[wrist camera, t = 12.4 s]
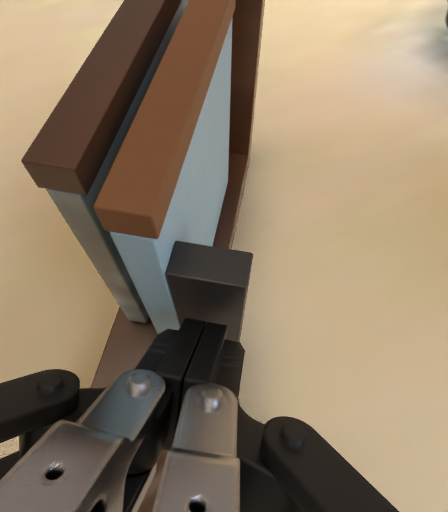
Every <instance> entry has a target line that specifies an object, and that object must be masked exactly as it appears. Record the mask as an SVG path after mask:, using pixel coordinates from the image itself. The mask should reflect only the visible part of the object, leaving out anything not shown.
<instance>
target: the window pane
mask: <svg viewBox="0 0 448 512" xmlns="http://www.w3.org/2000/svg"><path fill="white" fill-rule="evenodd" d="M235 3H236V0H189V2H188V4H187V6H186V8H185V10H184V12H183V15H182V17H181V19H180V21H179V23H178V25H177V27H176V30H175V32H174V34H173V36H172V38H171V40H170V42H169V45H168V47H167V49H166V51H165V53H164V55H163V57H162V60H161V62H160V64H159V66H158V68H157V70H156V72H155V75H154V77H153V79H152V81H151V83H150V85H149V87H148V90H147V92H146V94H145V96H144V98H143V100H142V102H141V105H140V107H139V109H138V111H137V113H136V115H135V117H134V120H133V122H132V124H131V126H130V128H129V130H128V132H127V135H126V137H125V139H124V141H123V143H122V145H121V147H120V150H119V152H118V154H117V156H116V158H115V160H114V162H113V165H112V167H111V169H110V171H109V173H108V175H107V177H106V180H105V182H104V184H103V186H102V188H101V190H100V192H99V195H98V197H97V199H96V201H95V203H94V210H95V212H96V214H97V216H98V218H99V220H100V222H101V224H102V226H103V228H104V230H106V231H110V235H111V237H112V239H113V241H114V243H115V245H116V247H117V249H118V252H119V254H120V256H121V258H122V260H123V262H124V264H125V266H126V268H127V270H128V273H129V275H130V277H131V279H132V281H133V283H134V285H135V287H136V289H137V291H138V294H139V296H140V298H141V300H142V302H143V304H144V306H145V308H146V310H147V312H148V315H149V317H150V319H151V321H152V323H153V325H154V327H155V329H156V331H157V333H158V334H159V333H161V332H163V331H165V330H166V329H173V330H179V328H180V327H181V325H182V323H183V321H184V320H185V318H190V319H195V320H200V321H206V324H207V322H211V323H217V324H222V325H227V334H226V340H232V341H237V342H239V341H240V335H241V329H242V323H243V316H244V310H245V304H246V297H247V291H248V284H249V278H250V271H251V265H252V259H253V254H252V253H249V252H243V251H237V250H231V249H225V248H219V247H213V242H214V238H215V233H216V229H217V225H218V221H219V217H220V213H221V209H222V204H223V200H224V196H225V192H226V188H227V184H228V164H229V127H230V90H231V53H232V17H233V14H234V11H235Z"/></svg>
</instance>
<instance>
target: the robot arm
mask: <svg viewBox="0 0 448 512" xmlns="http://www.w3.org/2000/svg"><path fill="white" fill-rule="evenodd" d="M226 334H227V325H222V324H217V323H211V322H207V324H206V321H200V320H195V319H190V318H185V320H184V321H183V323H182V325H181V327H180V328H179V330H173V329H166V330H165V331H163V332H161V333H159V334H158V335H157V336H156V338H155V339H154V341H153V342H152V344H151V345H150V347H149V348H148V350H147V351H146V353H145V354H144V356H143V357H142V359H141V360H140V362H139V363H138V365H137V366H136V368H135V369H134V370H129V371H126V372H123V373H121V374H119V375H118V376H117V377H116V378H115V379H114V380H113V381H112V382H111V383H110V384H109V385H108V387H106V388H83V389H79V388H80V381H79V378H78V377H77V376H76V375H75V374H74V373H72V372H70V371H66V370H60V369H52V370H45V371H41V372H37V373H34V374H30V375H27V376H24V377H20V378H17V379H14V380H10V381H7V382H4V383H0V443H2V442H4V441H7V440H9V439H12V438H14V437H17V436H19V451H18V452H15V453H13V454H11V455H8V456H6V457H4V458H1V459H0V512H137V511H138V509H139V507H140V505H141V503H142V501H143V499H144V497H145V494H146V492H147V490H148V488H149V486H150V484H151V482H152V480H153V478H154V475H155V473H156V466H157V462H158V460H159V458H160V455H161V452H162V450H163V449H165V450H168V452H167V456H166V460H165V463H164V467H163V471H162V475H161V479H160V483H159V487H158V490H157V494H156V498H155V502H154V506H153V510H152V512H399V511H398V510H397V509H396V508H395V507H394V506H393V505H392V504H391V503H390V502H389V501H388V500H387V499H386V498H384V497H383V496H382V495H381V494H380V493H379V492H378V491H377V490H376V489H375V488H374V487H373V486H372V485H371V484H370V483H369V482H368V481H367V480H366V479H365V478H364V477H363V476H362V475H361V474H360V473H359V472H358V471H357V470H356V469H355V468H353V467H352V466H351V465H350V464H349V463H348V462H347V461H346V460H345V459H344V458H343V457H342V456H341V455H340V454H339V453H338V452H337V451H336V450H335V449H334V448H333V447H332V446H331V445H330V444H329V443H328V442H327V441H326V440H325V439H324V438H322V437H321V436H320V435H319V434H318V433H317V432H316V431H315V430H314V429H313V428H312V427H311V426H309V425H308V424H306V423H305V422H303V421H301V420H298V419H295V418H292V417H283V416H282V417H275V418H273V419H270V420H269V421H268V422H267V423H266V424H265V425H264V424H262V423H260V422H258V421H256V420H254V419H253V418H251V417H250V416H248V415H247V414H246V413H245V412H244V411H243V410H242V408H241V407H240V405H239V402H238V394H239V387H240V380H241V373H242V366H243V359H244V352H245V350H244V349H243V347H242V345H241V343H240V342H237V341H232V340H226Z"/></svg>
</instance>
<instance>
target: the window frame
mask: <svg viewBox="0 0 448 512" xmlns="http://www.w3.org/2000/svg"><path fill="white" fill-rule="evenodd" d="M188 2H189V0H124V1H123V3H122V5H121V6H120V8H119V9H118V11H117V12H116V14H115V15H114V17H113V19H112V20H111V22H110V23H109V25H108V26H107V28H106V29H105V31H104V33H103V34H102V36H101V37H100V39H99V40H98V42H97V43H96V45H95V47H94V48H93V50H92V51H91V53H90V54H89V56H88V57H87V59H86V60H85V62H84V64H83V65H82V67H81V68H80V70H79V71H78V73H77V74H76V76H75V78H74V79H73V81H72V82H71V84H70V85H69V87H68V88H67V90H66V92H65V93H64V95H63V96H62V98H61V99H60V101H59V102H58V104H57V106H56V107H55V109H54V110H53V112H52V113H51V115H50V116H49V118H48V120H47V121H46V123H45V124H44V126H43V127H42V129H41V130H40V132H39V134H38V135H37V137H36V138H35V140H34V141H33V143H32V144H31V146H30V147H29V149H28V151H27V152H26V154H25V155H24V157H23V158H22V163H23V165H24V166H25V168H26V169H27V171H28V172H29V174H30V176H31V177H32V179H33V180H34V182H35V183H36V185H37V186H38V187H39V188H45V189H47V192H48V193H49V195H50V196H51V198H52V200H53V201H54V203H55V204H56V206H57V208H58V209H59V211H60V212H61V214H62V215H63V217H64V219H65V220H66V222H67V223H68V225H69V227H70V228H71V230H72V231H73V233H74V234H75V236H76V238H77V239H78V241H79V242H80V244H81V246H82V247H83V249H84V250H85V252H86V253H87V255H88V257H89V258H90V260H91V261H92V263H93V265H94V266H95V268H96V269H97V271H98V272H99V274H100V276H101V277H102V279H103V280H104V282H105V284H106V285H107V287H108V288H109V290H110V291H111V293H112V295H113V296H114V298H115V299H116V301H117V303H118V304H119V306H120V307H119V310H118V313H117V315H116V318H115V321H114V324H113V327H112V329H111V332H110V335H109V338H108V341H107V343H106V346H105V349H104V352H103V355H102V357H101V360H100V363H99V366H98V369H97V371H96V374H95V377H94V380H93V382H92V385H91V388H106V387H108V385H109V384H110V383H111V382H112V381H113V380H114V379H115V378H116V377H117V376H118V375H119V374H121V373H123V372H126V371H129V370H134V369H135V368H136V366H137V365H138V363H139V362H140V360H141V359H142V357H143V356H144V354H145V353H146V351H147V350H148V348H149V347H150V345H151V344H152V342H153V341H154V339H155V338H156V336H157V335H158V333H157V331H156V329H155V327H154V325H153V323H152V321H151V319H150V317H149V315H148V312H147V310H146V308H145V306H144V304H143V302H142V300H141V298H140V296H139V294H138V291H137V289H136V287H135V285H134V283H133V281H132V279H131V277H130V275H129V273H128V270H127V268H126V266H125V264H124V262H123V260H122V258H121V256H120V254H119V252H118V249H117V247H116V245H115V243H114V241H113V239H112V237H111V235H110V231H106V230H104V228H103V226H102V224H101V222H100V220H99V218H98V216H97V214H96V212H95V210H94V203H95V201H96V199H97V197H98V195H99V192H100V190H101V188H102V186H103V184H104V182H105V180H106V177H107V175H108V173H109V171H110V169H111V167H112V165H113V162H114V160H115V158H116V156H117V154H118V152H119V150H120V147H121V145H122V143H123V141H124V139H125V137H126V135H127V132H128V130H129V128H130V126H131V124H132V122H133V120H134V117H135V115H136V113H137V111H138V109H139V107H140V105H141V102H142V100H143V98H144V96H145V94H146V92H147V90H148V87H149V85H150V83H151V81H152V79H153V77H154V75H155V72H156V70H157V68H158V66H159V64H160V62H161V60H162V57H163V55H164V53H165V51H166V49H167V47H168V45H169V42H170V40H171V38H172V36H173V34H174V32H175V30H176V27H177V25H178V23H179V21H180V19H181V17H182V15H183V12H184V10H185V8H186V6H187V4H188ZM264 5H265V0H236V3H235V11H234V14H233V17H232V53H231V90H230V127H229V164H228V184H227V188H226V192H225V196H224V200H223V204H222V209H221V213H220V217H219V221H218V225H217V229H216V233H215V238H214V242H213V247H219V248H225V249H231V246H232V241H233V236H234V231H235V227H236V222H237V217H238V212H239V208H240V203H241V198H242V193H243V189H244V184H245V179H246V174H247V170H248V165H249V160H250V151H251V140H252V130H253V119H254V109H255V99H256V88H257V78H258V67H259V57H260V47H261V36H262V26H263V15H264ZM167 452H168V450H165V449H163V450H162V452H161V455H160V458H159V460H158V462H157V466H156V473H155V475H154V478H153V480H152V482H151V484H150V486H149V488H148V490H147V492H146V494H145V497H144V499H143V501H142V503H141V505H140V507H139V509H138V511H137V512H152V510H153V506H154V502H155V498H156V494H157V490H158V487H159V483H160V479H161V475H162V471H163V467H164V463H165V460H166V456H167Z"/></svg>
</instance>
